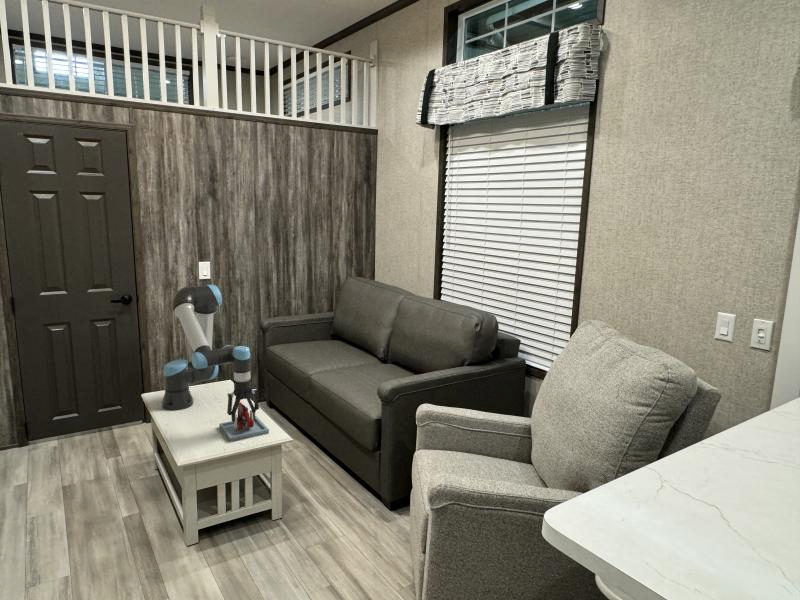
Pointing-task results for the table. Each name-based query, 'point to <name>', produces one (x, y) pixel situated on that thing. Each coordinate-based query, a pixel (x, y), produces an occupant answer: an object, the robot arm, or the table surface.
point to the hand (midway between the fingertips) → (243, 425)
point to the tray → (243, 430)
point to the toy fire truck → (243, 417)
